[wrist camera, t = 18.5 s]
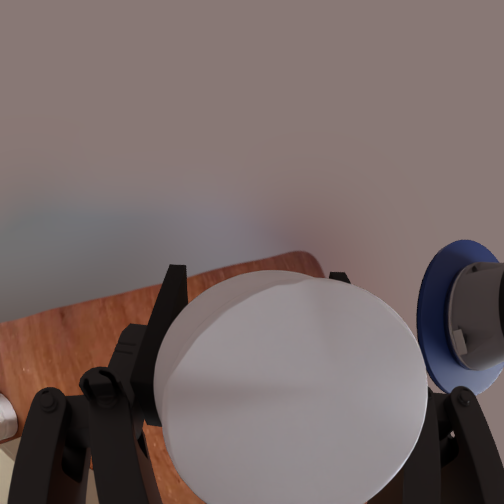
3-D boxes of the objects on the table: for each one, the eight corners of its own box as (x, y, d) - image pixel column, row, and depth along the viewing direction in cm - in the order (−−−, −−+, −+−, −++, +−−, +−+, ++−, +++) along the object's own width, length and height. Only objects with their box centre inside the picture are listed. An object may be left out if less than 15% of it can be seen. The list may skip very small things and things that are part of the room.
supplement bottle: (322, 385, 16) (486, 441, 4) (222, 432, 15) (219, 590, 2) (276, 288, 17) (380, 174, 5) (174, 332, 16) (47, 308, 4)
